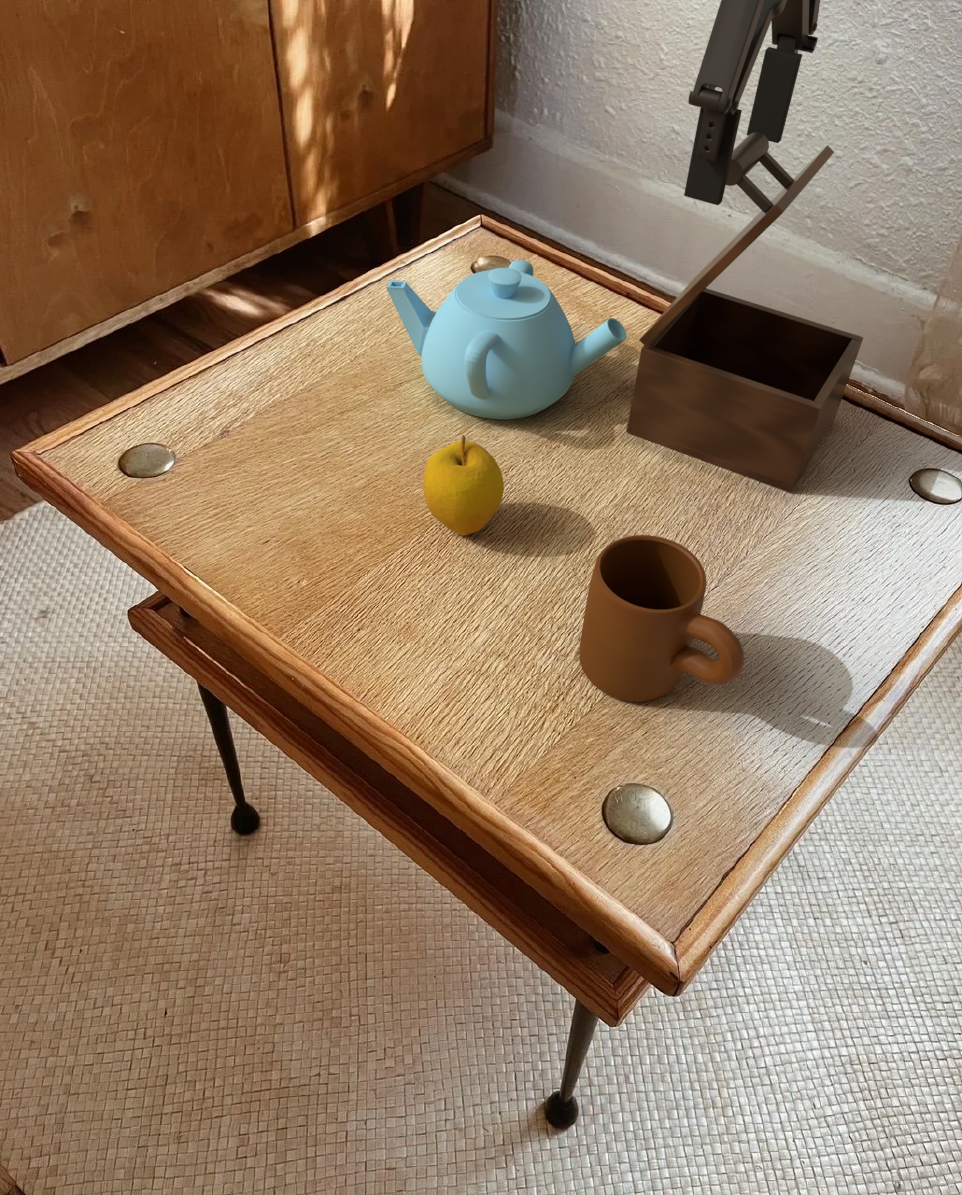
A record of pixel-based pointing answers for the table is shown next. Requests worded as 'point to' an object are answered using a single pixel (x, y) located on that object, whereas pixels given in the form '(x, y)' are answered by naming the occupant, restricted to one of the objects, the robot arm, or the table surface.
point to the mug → (651, 622)
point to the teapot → (499, 342)
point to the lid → (741, 164)
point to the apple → (463, 486)
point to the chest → (742, 387)
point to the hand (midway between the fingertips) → (734, 167)
